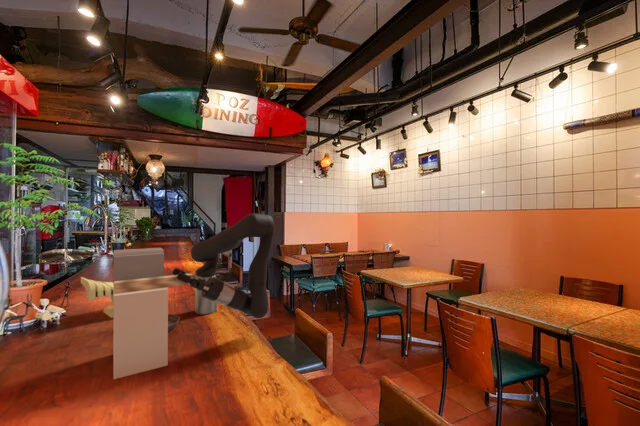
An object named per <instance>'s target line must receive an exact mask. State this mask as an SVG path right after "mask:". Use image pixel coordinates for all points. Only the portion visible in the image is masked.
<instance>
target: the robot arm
mask: <svg viewBox="0 0 640 426" xmlns="http://www.w3.org/2000/svg"><path fill="white" fill-rule="evenodd" d="M274 231H275V221H274V218H273V217H272V216H271V215H269V214H264V213H256V212H255V213H254V212H253V213H249V214H247V215H246V216H244V217H243V218H242V219H239V221H238V222H236V223H235V224H233V225H230V226H228V227H227V228H225V229H223V230H221V231H219V232H218V233H216V234H214V235H213V236H211V237H209V238H207V239H205V240H202V241H199V242H196V243H195V244H194V245H193V246H192V248H191V251H190V255H191V256H190V257H191V258H192V260H193V261H194V262H196V263H204V264H203V265H201V267H199V268H196V269H195V273H192V274H193V275H194V277H191V278H190V276H188V275H186V274H189V273H190V272H189V271H184V270H181V269H180V268H177V267H175V268H174V269H173V271H172V275H178V276H177V279H178V280H181V281H183V282H185V283H187V282H188V283H187V284H188V285H187V286H190V287H191V288H193V289H195V290H194V291H195V292H194V293H195V295H194V296H195V297H194V298H195V299H194V300H195V301H194V312H195V314H198V315H210V314H212V313H215V312H218V304H219V305H222V306H226V307H228V308H231V309H233V310H238V311H240V312H242V313H244V314H246V315H248V316H251V317H253V318H255V319H262V318H264V317H265V316H266V315H267V313H268V311H269V296H268V290H267V278H268V277H267V274H268V262H269V256H270V252H271V247H272V241H273V236H274ZM246 238H259V243H258V244H259V245H258V249H257V251H256V253H255V255H254V257H253V259H252V261H251V262H250V264H249V268H248V272H247V273H248V274H247V289H248V291H249V292H250V294H249V293H247V292H246V291H243V289H240V288H238V287H235V286H233V285H232V284H231V283H228V282H227V281H223V280H221V279H219V278H218V277H217V270H218V260H219V255H220V254H224V253H227V252H230V251H232V250H235V249H236V248H238V247H239V246H240V245H241V244H242V241H243V240H244V239H246Z"/></svg>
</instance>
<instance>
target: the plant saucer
mask: <svg viewBox="0 0 640 426" xmlns="http://www.w3.org/2000/svg"><path fill="white" fill-rule="evenodd" d="M180 318H181V317H180V316H178V315H176V314H168V332H169V331H171V330H172V329H174V328H175V327H176V326H177V325H178V323H179V321H180V320H181V319H180Z"/></svg>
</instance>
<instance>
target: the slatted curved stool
mask: <svg viewBox="0 0 640 426" xmlns="http://www.w3.org/2000/svg"><path fill="white" fill-rule="evenodd" d="M80 284H81V285H82V286H83V287H84V289H85V290H86V291H85V292H86V298H87V300H88V301H92V300H93V301H94V300H95V299H96V298H98V299H99V298H104V297H105V298H109V299H110V300H111V302H112V305H109V306H105V308H103V311H102V312H103V313H104V314H106V315H107V316H108V317H109V318H110V319H113V309H114V281H101V280H100V281H99V280H93V279H90V278H89V279H88V278H86V277H82V276H80Z"/></svg>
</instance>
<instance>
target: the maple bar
mask: <svg viewBox="0 0 640 426" xmlns="http://www.w3.org/2000/svg"><path fill="white" fill-rule="evenodd" d="M193 274H194V273H192V272H189V274H186V275H188V276H190V278H191V277H194V275H193ZM177 276H178V275H173V274H172V275H164V276H161V277H151V278H141V279H132V280H122V281H114V280H113V283H114V294H115V293H123V292H131V291H139V290H147V289H155V288H163V287H167V288H170V287H176V286H177V287H178V286H189V285H188V284H187V283H188V282H187V283H185V282H183V281H181V280H178V279H177Z"/></svg>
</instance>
